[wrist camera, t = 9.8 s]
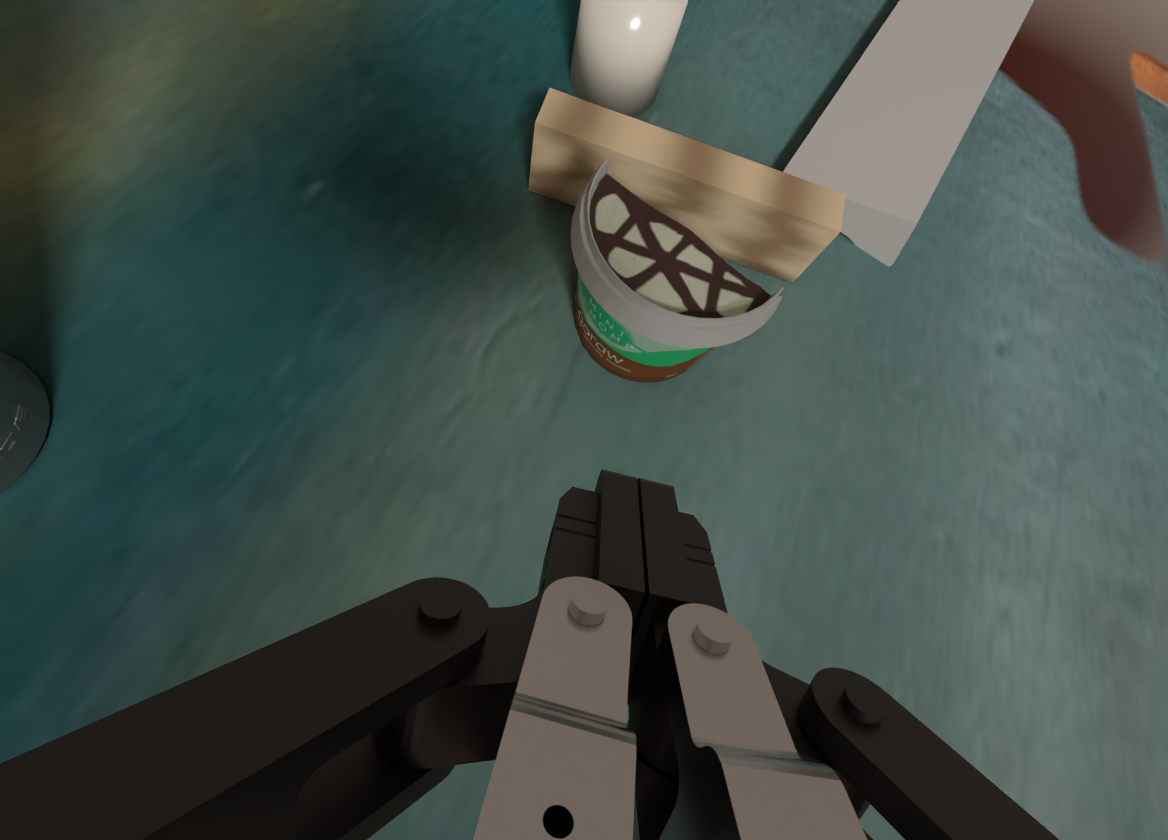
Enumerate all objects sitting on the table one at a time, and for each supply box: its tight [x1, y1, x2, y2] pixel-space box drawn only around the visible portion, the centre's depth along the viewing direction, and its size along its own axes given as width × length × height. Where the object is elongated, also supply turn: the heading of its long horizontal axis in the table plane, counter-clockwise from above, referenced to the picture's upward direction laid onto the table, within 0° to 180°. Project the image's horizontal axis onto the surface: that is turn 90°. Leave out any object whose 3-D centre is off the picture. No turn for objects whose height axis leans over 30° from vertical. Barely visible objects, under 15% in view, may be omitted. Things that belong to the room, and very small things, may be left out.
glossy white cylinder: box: [569, 0, 688, 117], centre depth 41 cm, size 7×7×8 cm
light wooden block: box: [528, 88, 846, 283], centre depth 39 cm, size 20×5×6 cm, turn 74°
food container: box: [571, 157, 784, 382], centre depth 33 cm, size 12×6×10 cm, turn 53°
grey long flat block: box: [783, 0, 1034, 267], centre depth 49 cm, size 34×5×10 cm
